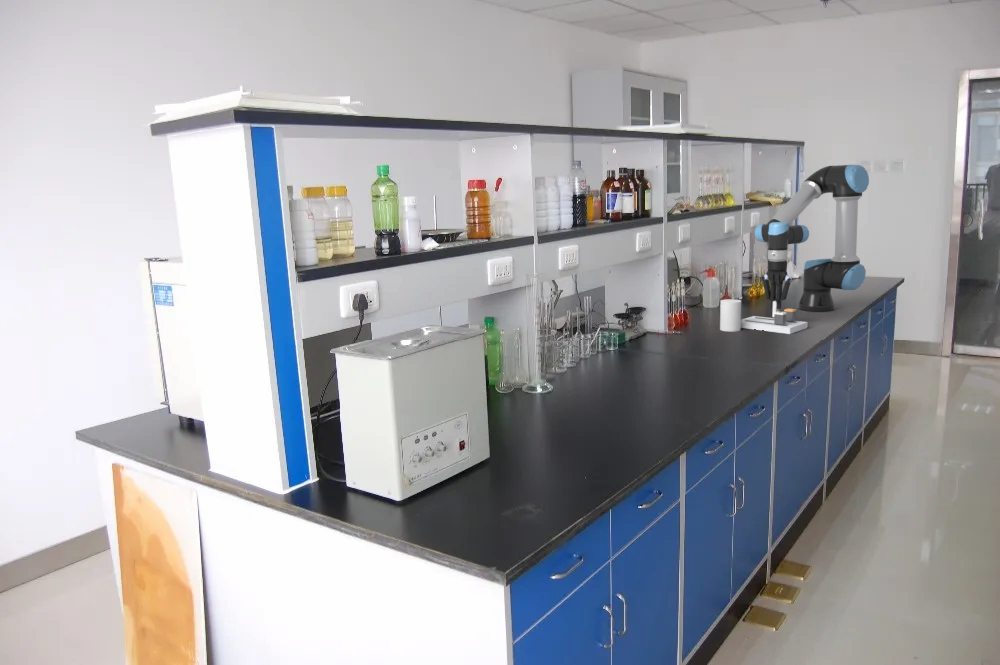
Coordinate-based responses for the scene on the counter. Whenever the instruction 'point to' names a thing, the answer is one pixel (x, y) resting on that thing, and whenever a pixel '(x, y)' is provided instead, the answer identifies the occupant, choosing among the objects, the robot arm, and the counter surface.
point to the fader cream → (780, 318)
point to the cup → (730, 315)
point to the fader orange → (790, 314)
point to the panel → (772, 325)
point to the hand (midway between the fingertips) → (775, 316)
